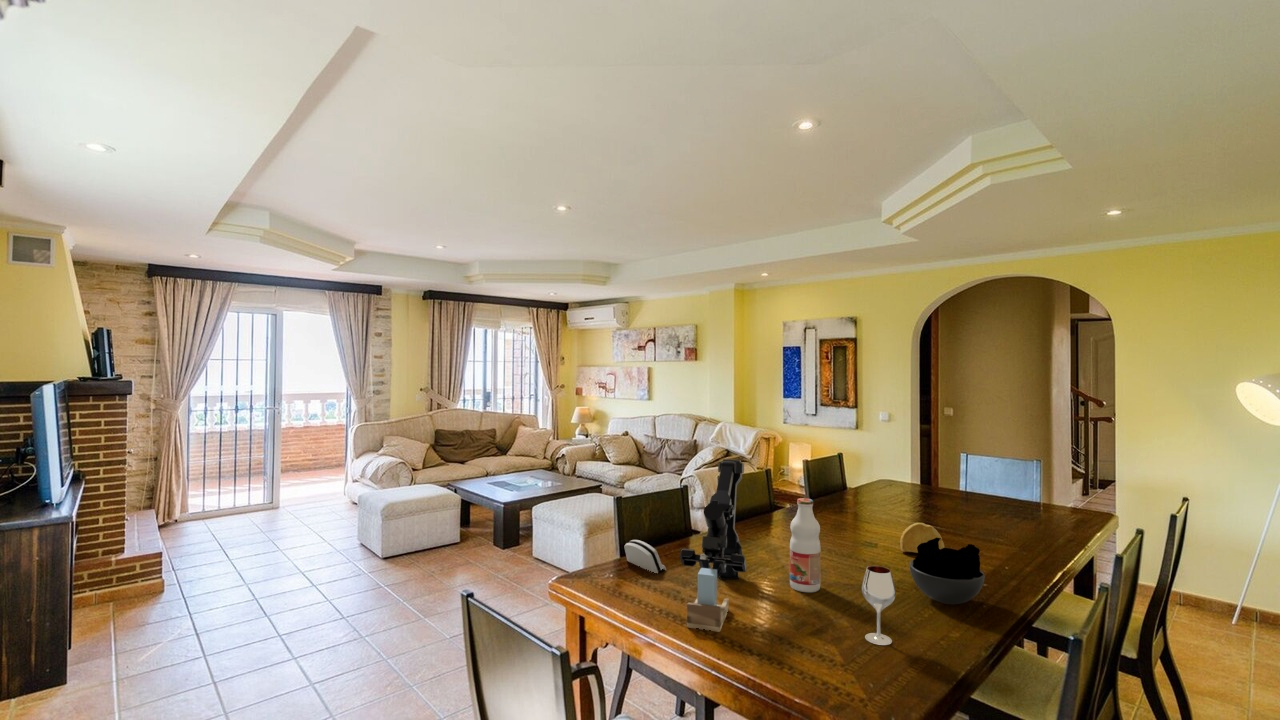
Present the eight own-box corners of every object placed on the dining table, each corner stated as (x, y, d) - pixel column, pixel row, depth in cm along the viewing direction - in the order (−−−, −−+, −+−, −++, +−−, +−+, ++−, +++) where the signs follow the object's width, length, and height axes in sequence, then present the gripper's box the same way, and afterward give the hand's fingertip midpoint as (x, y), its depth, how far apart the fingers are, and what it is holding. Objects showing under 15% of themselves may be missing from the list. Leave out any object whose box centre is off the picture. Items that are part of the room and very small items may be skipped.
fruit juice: (824, 593, 179) (824, 503, 180) (793, 593, 179) (794, 502, 180) (815, 582, 189) (815, 496, 189) (786, 581, 189) (786, 496, 189)
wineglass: (856, 632, 153) (856, 564, 153) (885, 631, 153) (885, 563, 153) (870, 647, 144) (871, 575, 145) (902, 646, 145) (902, 574, 145)
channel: (698, 605, 169) (698, 584, 169) (728, 609, 166) (728, 588, 167) (687, 627, 155) (687, 604, 155) (719, 632, 152) (719, 608, 153)
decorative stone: (903, 537, 232) (896, 514, 224) (945, 537, 225) (939, 514, 217) (904, 566, 223) (897, 543, 215) (947, 568, 215) (942, 544, 208)
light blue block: (701, 612, 162) (701, 567, 162) (716, 614, 160) (717, 569, 161) (697, 619, 157) (697, 573, 157) (713, 622, 156) (713, 575, 156)
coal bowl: (894, 594, 179) (894, 533, 179) (940, 585, 186) (940, 527, 187) (952, 620, 160) (952, 552, 160) (1000, 609, 168) (1000, 544, 168)
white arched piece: (667, 570, 198) (659, 545, 196) (657, 578, 196) (649, 552, 194) (638, 557, 212) (630, 533, 210) (628, 564, 209) (620, 540, 207)
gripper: (681, 521, 170) (671, 571, 159) (745, 526, 164) (739, 579, 153) (687, 540, 177) (678, 589, 166) (748, 546, 171) (743, 597, 161)
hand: (708, 588), depth 161 cm, fingers closed
